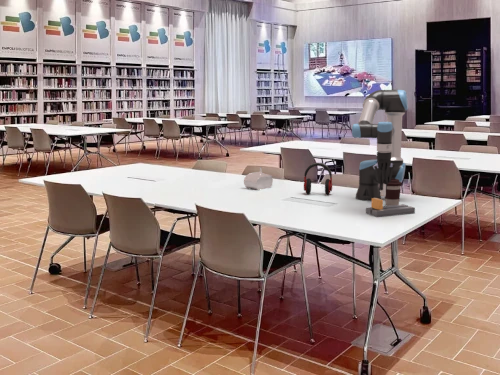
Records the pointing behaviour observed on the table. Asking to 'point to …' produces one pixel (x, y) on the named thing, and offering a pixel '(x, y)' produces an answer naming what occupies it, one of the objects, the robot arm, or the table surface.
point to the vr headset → (258, 180)
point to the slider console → (391, 210)
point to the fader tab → (377, 203)
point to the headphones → (327, 183)
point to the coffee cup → (393, 192)
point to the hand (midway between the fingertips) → (383, 195)
